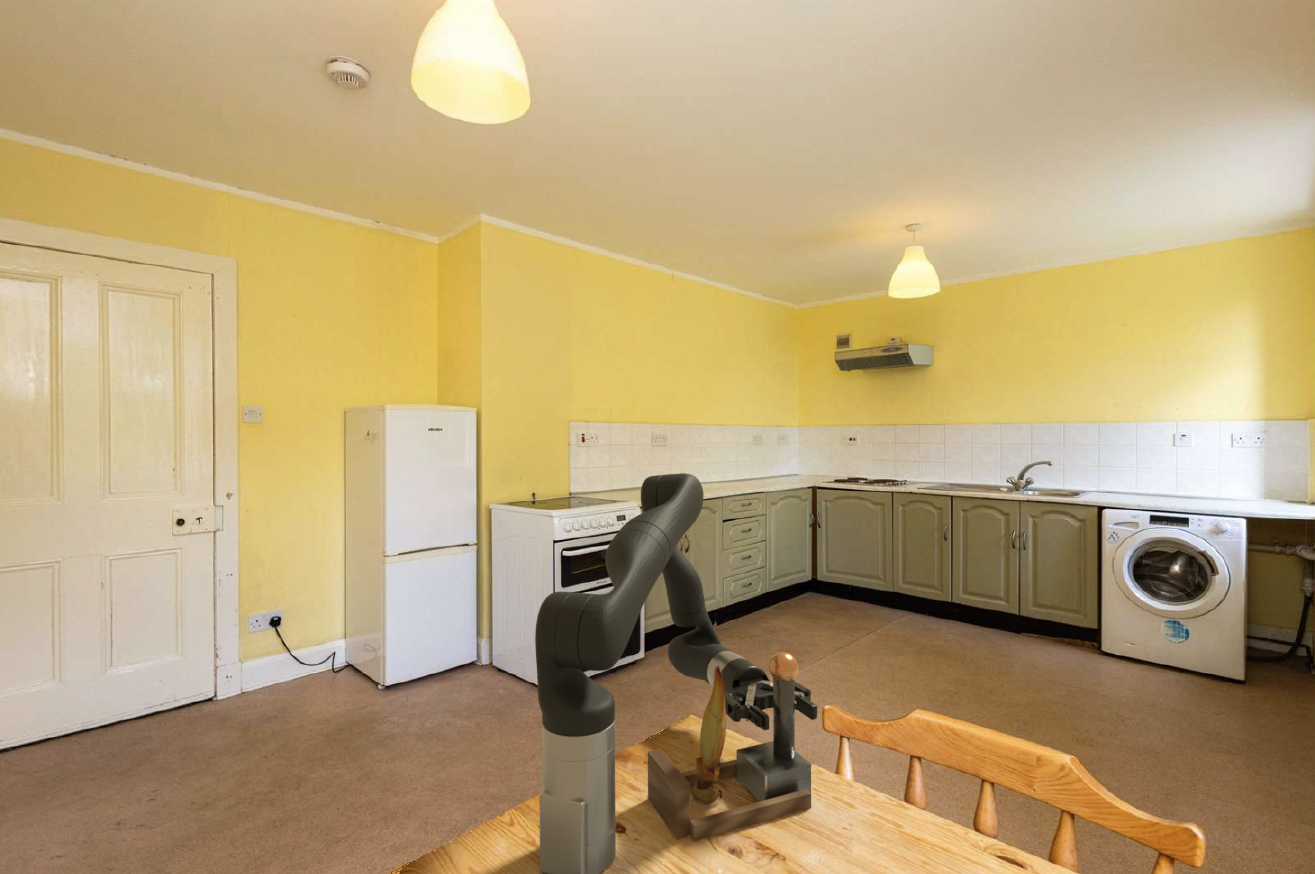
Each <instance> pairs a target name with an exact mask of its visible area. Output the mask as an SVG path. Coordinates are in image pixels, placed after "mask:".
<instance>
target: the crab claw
mask: <svg viewBox="0 0 1315 874" xmlns="http://www.w3.org/2000/svg"><path fill="white" fill-rule="evenodd" d="M727 720H728V719H727V714H726V711H725V697H724V683H723V678H722V674H721V671H720V668H719V666H716V667H715V674H714V685H713V687H712V691H711V695H710V697H709V700H708V703H707V704H706V707H705V709H704V712H703V715H702V720H701V721H702V722H701V726H700V727H701V728H700V734H699V744H698V745H699V746H698V747H699V752H700V753H699V754H700V756H697V757H695V763H696V768H695V769H696V770H697V775H698V777H699V778H698V780H697V782H695V786H694V787H691V788H690V789H691V790H690V795H691V796H692V798H693V799H694V800H696V801H697V802H700V803H702V804H704V805H713V804H714V803H715V802H716V800H717V798H718V796H719V799H722V796H723V792H722V790H719V789H718V788H717V787H716V784H717V783H718V782H720V781H719V780H721V779H719V769H720V764H721V763H722V762H721V758H722V754H723V750H724V747H725V741H726V736H727V734H726V733H727ZM721 781H722V780H721Z"/></svg>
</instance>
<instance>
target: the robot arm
mask: <svg viewBox="0 0 1315 874" xmlns="http://www.w3.org/2000/svg"><path fill="white" fill-rule="evenodd" d="M640 488H641V489H640V503H641V504H640V505H641V510H642V513H640V514H638V515H636V516H634V517H632V518H631V519H630V520H628V521H627V522H626V523H624V525H622V527H621V528H620V529H619V531H618V532H617V533H616V534H615V536H614V537H613V538H612V540H611V541H610V542H609V544H608V546H607V549H606V551H605V557H604V558H605V567H606V572H607V575H608V577H609V579H610V582H611V584H612V586H613V588H612V590H610V591H609V592H606V593H602V594H600V593H598V594H596V593H588V592H586V593H585V592H576V591H575V592H573V591H572V592H571V591H555V592H552V593H550V594H549V595H547V596H545V599H544V600H543V601H542V603H541V605H540V607H539V610H538V613H537V616H536V623H535V631H534V632H535V633H534V634H535V635H534V636H535V637H534V641H535V642H534V644H535V663H536V679H537V699H538V704H539V708H540V711H541V723H542V724H541V726H542V728H541V732H542V733H541V734H542V737H541V738H542V746H541V748H542V749H541V751H542V752H541V757H542V758H541V759H542V760H541V761H542V762H541V763H542V765H541V766H542V767H541V768H542V770H541V771H542V773H541V774H542V775H541V777H542V779H541V780H542V782H541V783H542V792H541V793H540V794H539V797H538V799H539V800H538V801H539V803H538V804H539V808H538V809H539V815H538V816H539V819H538V821H539V826H538V827H539V871H540V872H541V873H545V874H601V872H604V871H605V870H607V869H608V867H610V866H611V865H612V863H613V861H614V860H615V857H616V845H617V844H616V843H617V842H616V702H615V698H614V695H613V694H612V693H611V691H609V689H607V688H606V687H604V686H603V685H601V684H599V683H598V682H596V681H594V680H593V679H591V678H590V677H589V676H588V675H587V674H586V673H585V672H584V671H592V672H593V671H594V672H602V671H603V672H604V671H608V670H610V669H612V668H613V667H615V665H616V664H618V661H619V660H620V659H621V657H622V655H623V654H624V651H625V649H626V648H627V646H628V644H629V641H630V638H631V636H632V633H633V631H634V628H635V626H636V623H637V621H638V619H639V616H640V613H641V611H642V609H643V606H644V604H645V602H646V601H647V598H648V596H649V595H650V593H651V591H652V589H653V588H654V586H655V584H656V583H657V582H658V580H659V578H660V576H661V574H662V575H663V580H664V585H665V590H666V595H667V600H668V601H667V602H668V606H669V612H670V616H671V617H670V618H671V620H672V622H673V624H674V625H676V626H677V627H681V628H693V627H695V629H692V630H691V631H688V632H685V633H683V634H680V635H678V636H676V637H674V638H672V639H671V641H670V642H669V644H668V647H667V656H668V657H667V658H668V659H669V662H670V664H671V665H672V667H673V668H674V669H675V670H676V671H677V672H678V673H679V674H682V675H683V676H685V677H688V678H689V677H690V678H693V679H696V680H700V681H705V682H706V683H707V684H708V685H709V686H711V687H712V688H713V685H714V674H715V667H716V666H719V668H720V671H721V674H722V678H723V683H724V697H725V711H726V716H727V717H729V718H730V719H731V720H732V721H733V722H735V723H738V722H741V720H742V719H744V720H745V721H746V722H748V723H749V722H750V723H752V724H754V725H755V727H757V728H760V729H761V730H763V731H768V730H770V716H769V714H768V713H766V712H765V711H764V710H767V709H773V681H771V680H770V678H769V677H768V675H767V674H766V672H765V671H764V669H762V668H761V667H759V666H758V665H756V664H754V663H753V662H751V661H750V660H748V659H747V658H745V657H743V656H742V655H740V654H738V653H735V652H733V651H731V650H730V649H728V648H727V647H725V646H723V645H722V643H721V640H720V638H719V636H718V634H717V632H716V630H715V628H714V625H713V624H712V621H711V619H710V617H709V616H710V615H709V614H708V611H707V607H706V600H705V594H704V588H703V583H702V580H701V577H700V576H699V573H698V571H697V570H696V568H695V567H694V565H693V564H692V563H691V561H690V560H689V559H688V558H687V556H686V555H685V554H684V553H683V552H682V550H681V549H680V548H679V546H678V544H679V543H680V541H681V540H682V538H683V537H684V536H685V534H686V533H687V531H689V530H690V528H691V527H692V526H693V524H694V523H696V521H697V520H698V518H699V516H700V514H701V513H702V509H703V503H704V488H703V485H702V483H701V481H700V480H699V479H698V477H697V476H695V475H693V474H691V473H685V472H684V473H682V472H681V473H670V474H669V473H668V474H658V475H651V476H648V477H646V478H645V479H644V480H643V482H642V485H641V487H640ZM583 670H584V671H583ZM794 683H795V711H798V712H799V713H801V714H802V715H804V716H806V717H807V718H808V719H809V720H811V721H814V720H817V719H818V705H817V704H816V703H814V702H812V698H811V696H812V695H811V694H812V691H811V689H809V688H808V687H805V686H804V685H802V684H800V683H798V682H797V681H796V680H794Z"/></svg>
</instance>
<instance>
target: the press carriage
mask: <svg viewBox="0 0 1315 874" xmlns="http://www.w3.org/2000/svg"><path fill="white" fill-rule="evenodd" d="M768 665H769V666H768V669H769V673H770V675H771V677H772V682H773V708H772V722H773V723H772V725H773V726H772V729H773V732H772V735H773V736H772V737H773V739H772V740H773V741H768V742H764V743H760V744H756V745H750V746H747V747H742V748H737V749H736V752H735V753H736V755H735V756H736V758H735V760H737V777H736V779H737V780H738V781H739V782H740V783H741V785H743V786H744V787H745V788H746V789H747V790H748V792H749V793H751V794H752V795H753V796H754V797H755V798H756V799H757V800H758V802H760V801H764V800H768V799H771V798H775V797H779V796H782V795H786V794H790V793H793V792H797V791H801V790H804V789H807V790H808V791H809V792H810V793H811V794H812V763H811V762H809V761H808V760H807V759H805V758H804V757H803V756H802V755H801V754H799V752H797V751H796V746H795V745H796V743H795V741H796V737H795V736H796V734H795V733H796V731H795V728H796V727H795V726H796V724H795V720H796V719H795V718H796V716H795V713H796V710H795V703H796V701H795V683H794V681H795V679H796V677H797V675H798V674H799V663H798V661H797V659H796V658H795V657H794V656H793V655H792V654H791V653H789V652H785V651H782V652H777V653H775V654H774V655H772V657H771V658H770V660H769V663H768Z"/></svg>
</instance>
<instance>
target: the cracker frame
mask: <svg viewBox="0 0 1315 874" xmlns="http://www.w3.org/2000/svg"><path fill="white" fill-rule="evenodd" d="M698 778H699V777H698V775H697V770H696V768H694V769H690V770H687V771H682V772H681V771H680V770H679V768H677V767H676V765H675V764H674V763H673V762H672V761H671V759H670V758H669V757H668V756H667V755H666V753H665V752H664V751H663V750H662V749H661V748H657V749H652V750H647V800H648V801H649V802H650V804H651V805H652V807H653V808H654V810H655V811H656V812H657V814H658V815H659V817H660V819H661V820H662V822H664V825H665V826H666V827H667V828H668V829H669V831H670V833H671V835H672V836H673V837H674V838H675V840H681V839H683V838H687V837H690V838H691V839H692V840H693V842H696V841H699V840H703V839H706V838H709V837H713V836H717V835H720V834H723V833H726V832H730V831H733V830H737V829H741V828H744V827H747V826H751V825H755V824H758V823H761V822H765V821H768V820H772V819H775V818H779V817H783V816H785V815H788V814H793V813H796V812H799V811H800V812H801V811H804V810H806V809H810V808H812V792H811V793H810V792H809V791H808V790H807V789H804V790H801V791H797V792H793V793H790V794H786V795H782V796H779V797H775V798H771V799H768V800H764V801H757V802H753V803H750V804H746V805H743V806H739V807H735V808H732V809H728V810H725V811H720V812H717V813H713V814H710V815H706V816H703V817H699V818H696V819H692V820H691V790H690V789H692V788H691V787H693V788H694V786H695V782H697V780H698ZM732 778H737V760H736V759H731V760H728V761H723V762H721V764H720V769H719V779H721V780H719V781H718V782H721V781H725V780H729V779H732Z"/></svg>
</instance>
